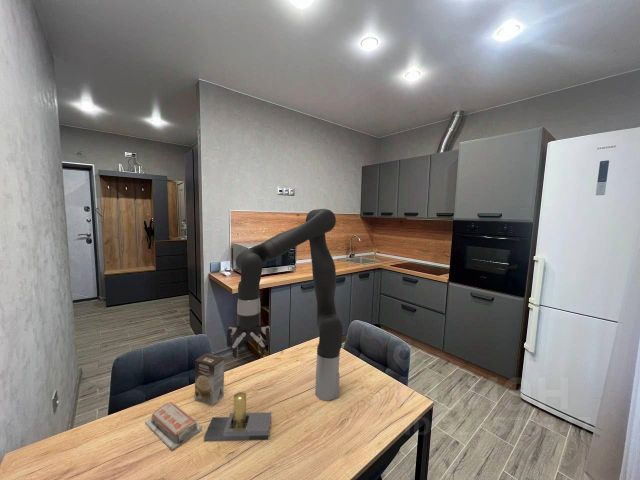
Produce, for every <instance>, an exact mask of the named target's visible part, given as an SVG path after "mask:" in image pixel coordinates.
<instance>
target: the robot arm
mask: <svg viewBox="0 0 640 480" xmlns="http://www.w3.org/2000/svg"><path fill="white" fill-rule="evenodd" d="M336 219H337V217H336V215H335V213H334V211H332V210H330V209H327V208H317V209H312V210H310V211H309V212H308V213H307V214H306V217H305V222H304V223H302V224H300V225H298V226H296V227H293V228H290V229H287V230H285V231H282V232H280V233H278V234H276V235H273V236H272V237H270V238H269V239H267V240H266V241H263V242H262V243H260V244H257V245H253V246H251V247H249V248H247V249H244V250H243V251H241V252H240V253H239V254H238V255H237V256H236V259H235V266H236V267H237V269H238V270H239V271H240V281H239V282H238V285H237V304H236V306H237V308H236V312H237V313H236V315H237V316H236V317H237V318H236V321H237V326H236V327H234V326H231V325H230V326H229V327H228V329H227V331H226V332H227V333H226V346H227V347H231V348H232V357H234V359H237V358H238V357H239V344H240V343H241V341H242V340H243V341H244V342H247V341H250V342H254V341H255V342H256V343H257V344H259V345H260V347H259V348H260V358H264V356H265V354H266V346H270V344H271V340H272V339H271V326H270V325H266V326H263V327H262V326H261V300H260V296H261V295H260V293H261V292H260V289H261V288H260V283H261V279H262V275H263V274H262V273H263V263H264V262H267V261H269V262H270V261H273V260H276V259H278V258H279V257H281V256H282V255H285V254H286V253H287V252H289V251H290V250H293V249H295V248H296V247H298V246H299V245H301V244H303V243H305V242H309V247H310V248H309V250H310V260H311V270H312V273H311V274H312V281H313V286H314V293H315V297H316V299H315V300H316V312H317V313H316V325H317V329H318V331H319V337H318V344H317V346H316V347H317V348H316V366H315V367H316V368H315V388H314V389H315V391H314V393H315V396H316V397H317V398H318V399H319V400H321V401H333V400H335V399H339V397H340V396H339V394H340V379H341V377H340V372H339V371H340V355H341V349H342V344H343V331H344V329H343V324H342V321H341V320H340V318H339V317H338V315H337V310H336V304H335V293H336V287H337V274H336V264H335V260H334V259H333V257H332V254H331V253H330V250H329V247H328V244H327V241H326V233H329V232H330V231H333V230H334V228H335V226H336V224H337V223H336V221H337V220H336ZM261 332H263V334H264V335H265V339H264V338H263V336H262V335H261ZM235 333H236V334H237V335H238V336H237V337H236V338H235V341H233V335H234V334H235Z"/></svg>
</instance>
